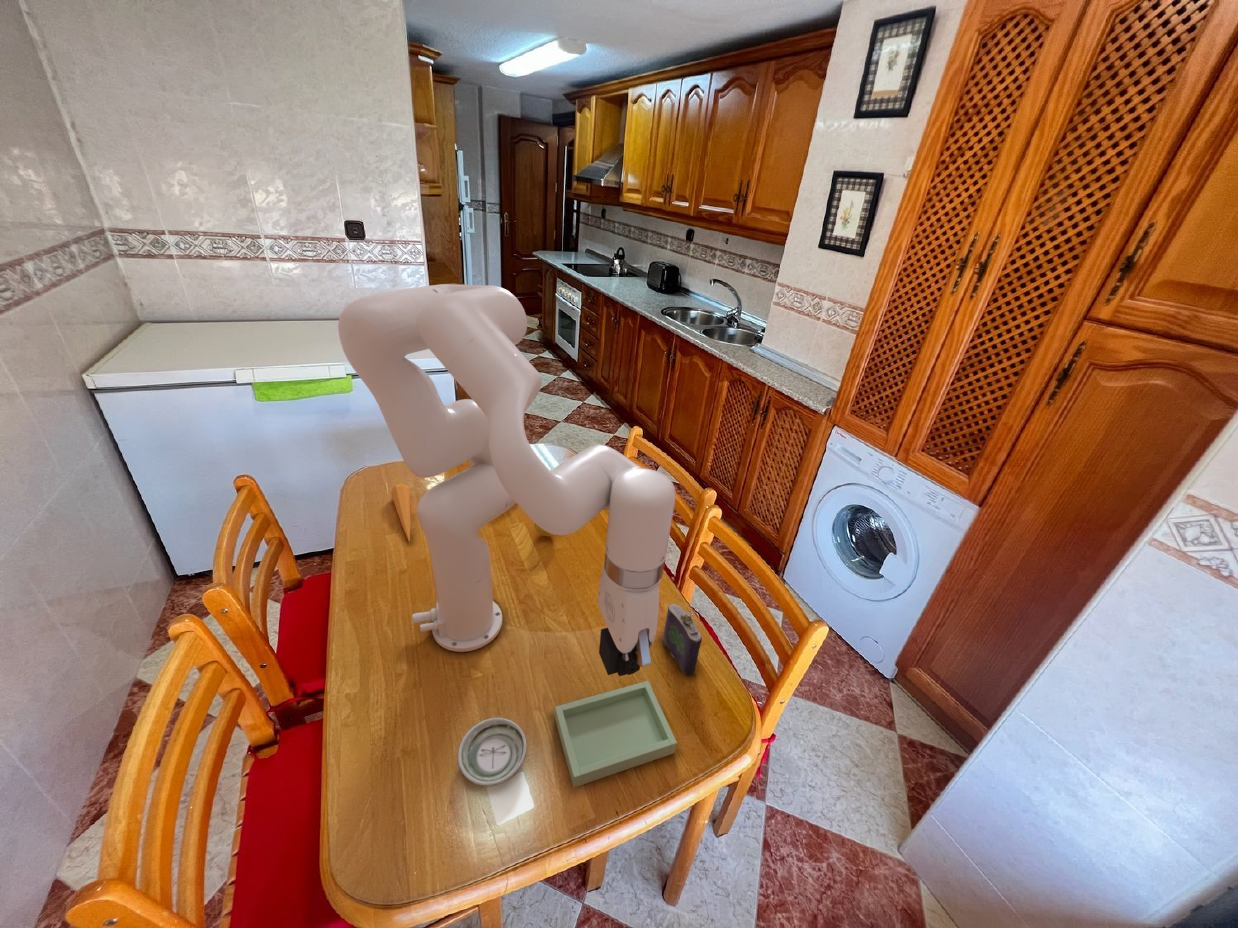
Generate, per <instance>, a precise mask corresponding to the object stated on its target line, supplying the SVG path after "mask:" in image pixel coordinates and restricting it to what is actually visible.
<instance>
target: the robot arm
mask: <svg viewBox="0 0 1238 928" xmlns="http://www.w3.org/2000/svg"><path fill="white" fill-rule="evenodd" d="M337 323H338V325H337V326H338V327H337V329H338V330H337V331H338V337H339V341H340V345H341V349H342V351H343V353H344V355H345V357H346V359H347V361H348V363H349V364H350V366H351V367H352V369H353V371H354V372H355V373H356V375H357V376H358V377H359V378H360V380H361V381H362V382H363V384H364V385H365V386H366V387H367V388H368V391H370V393H371V395H372V396H373V398H374V399H375V401H376V403H377V405H378V407H379V410H380V413H381V415H382V417H383V419H384V421H385V423H386V425H387V428H388V431H389V432H390V434H391V436H392V438H393V441H394V443H395V445H396V447H397V449H398V452H399V454H400V456H401V457H402V460H403V462H404V464H405V465H406V467H407V468H408V470H409V471H410V472H411V473H412V474H413V475H414V476H416V477H419V478H423V479H428V478H433V477H436V476H439V475H442V474H443V473H445V472H446V473H447V472H448V471H450V470H452V469H454V468H456V467H458V466H460V465H462V464H464V463H465V462H469V464H470V467H468V468H466V469H464V470H462V471H461V472H457V473H456V474H454V475H452V476H450V477H448V478H446V479H444V480H442V481H441V482H439V483H437V484H436V485H434V486H433V487H431V488H430V489H428V490H427V491H426V492H425V493H424V494H423V495H422V496H421V497H420V499H419V501H418V503H417V507H416V513H417V517H418V518H417V519H418V521H419V524H420V526H421V529H422V531H423V533H424V536H425V540H426V542H427V546H428V551H429V556H430V561H431V566H432V574H433V581H434V582H433V583H434V586H435V587H434V588H435V594H436V595H435V597H436V603H435V606H436V607H434V608H431V609H430V610H429V611H425V612H423V611H421V612H415V613H412V624H413V626H415V625H418V624H419V628H420V629H419V631H420V633H425V632H426V633H427V632H430V631H431V633H432V636H433V639H434V640H435V642H436V643H437V644H438V645H439V646H440V647H441V648H443V649H446V650H448V651H452V652H456V653H457V652H459V653H462V652H463V653H464V652H471V651H475V650H478V649H481V648H483V647H485V646H486V645H488V644H490V643H491V642H492V641H493V640H494V639H495V638H496V637H497V636H498V635H499V633H500V631H501V629H502V626H503V613H502V610H501V607H500V606H499V605H498V604H497V603H496V602H495V601H494V598H493V596H494V595H493V585H492V584H493V582H492V567H491V553H490V552H491V551H490V547H489V545H488V542H487V541H486V540H485V538H484V537H482V536H481V535H480V534H478V533H479V532H480V531H481V529H483V528H484V527H485V526H487V525H488V524H489V523H491V522H492V521H494V520H495V519H496V518H498V517H500V516H501V515H503V514H504V513H506V512H507V511H509V510H510V509H511V508H513V507H514V506H515V505H518V506H519V508H520V509H521V510H522V512H524V513H525V515H526V516H527V517H528V518H529V519H530V520H531V521H532V522H533V524H534V523H535V524H537V525H538V526H539V527H540V528H542V529H543V530H545V531H546V532H548V533H551V534H552V535H554V536H560V537H561V536H562V537H565V536H569V535H573V534H575V533H576V532H578V531H579V530H581V529H582V528H583V527H585V526H586V525H587V524H588V523H590V522H591V521H592V520H593V519H594V518H595V517H597V516H598V515H599V514H600V513H602V512H603V511H607V510H608V519H607V529H606V541H605V542H606V543H605V551H604V562H603V565H602V570H601V575H600V580H599V588H598V596H597V604H598V608H599V610H600V613H601V615H602V618H603V621H604V623H605V625H606V628H608V630H609V632H610V634H611V636H612V638H613V641H614V643H615V645H616V647H617V648H618V650H619V651H620V652H622V654H620V655H619V662H618V670H617V673H616V674H617V675H618V677H623V676H625V675H628V676H630V675H633V674H635V673H637V672H639V671H640V669H641V668H645V667H648V666H651V665H652V658H651V651H650V649H649V646H650V647H652V646H653V644H654V642H655V640H656V636H657V630H658V622H659V613H660V612H659V611H660V583H661V582H662V580H663V575H664V570H665V564H666V559H667V553H668V546H669V540H670V535H671V528H672V522H673V518H674V517H673V516H674V511H675V506H676V496H677V493H676V487H675V484H674V483H673V481H672V480H671V479H670V478H669V477H668V476H667V475H665V474H664V473H662V472H660V471H658V470H654V469H651V468H646V467H645V468H644V467H641V466H640V465H638V464H637V463H635V462H634V461H633V460H631V459H629V458H628V457H627V456H625V455H623V454H622V453H621V452H619V451H618V450H616V449H615V448H612V447H610V446H608V445H605V444H593V445H591V446H588V447H585V448H584V449H583V450H581V451H579V452H578V453H576V454H574V455H573V456H572V457H570V458H567V459H566V460H564V461H563V462H561V463H559V464H558V465H557V466H555V467H553V468H552V469H549V468H548V467H547V466H546V465H545V463H544V462H543V461H542V460H541V458H539V456H538V455H537V453H535V451H534V449H533V448H532V446H531V444H530V442H529V440H528V438H527V434H526V430H525V414H526V411H527V410H528V409H529V407H530V406H531V405H532V403H533V402H534V401H535V400H536V398H537V397H538V395H539V392H540V391H541V388H542V376H541V374H540V373H539V371H538V370H537V369H536V367H534V366H533V364H532V363H531V362H530V361H529V360H528V358H526V356H525V355H524V354H523V353H522V352H521V351H520V349H519V348H518V347H517V346H516V345H518V344H519V343H520V342H521V341H522V340H523V339H524V337H525V336H526V333H527V329H528V318H527V314H526V311H525V308H524V307H523V305H522V303H521V302H520V301H519V299H518V297H516V296H515V295H514V294H513V293H511V292H510V291H509V290H508V289H505V288H503V287H501V286H497V285H487V284H485V285H483V284H456V283H455V284H454V283H453V284H452V283H441V284H435V285H434V284H433V285H425V286H419V287H412V288H405V289H403V288H402V289H395V290H389V291H383V292H377V293H372V294H368V295H365V296H362V297H360V298H357V299H355V300H353V301H351V302H349V303H348V304H347V305H345V306H344V308H343V309H342V311H341V312H340V314H339V317H338V322H337ZM426 350H429V351H431V353H432V354H433V355H434V357H435V358H436V359H437V360H438V361H439V362H440V363H441V365H442V366H443V367H444V368H445V370H447V372H448V373H449V374H450V375H451V377H453V379H454V380H455V381H456V383H458V384H459V385H460V387H461V388H462V389H463V391H464V392H465V393H466V394H467V395H468V396H469V397H470V398H471V399H470V398H464V399H459V400H455V401H453V402H450V403H448V404H444V403H443V401H442V399H441V397H440V395H439V392H438V390H437V389H438V388H437V387H436V385H435V383H434V381H433V379H432V378H431V377H430V375H429V374H428V373H426V371H425V370H423V368H421V367H420V366H418V365H417V364H415V363H414V362H413V361H411V360H409V358H406V356H407V355H410V354H414V353H417V352H423V351H426ZM426 622H428V623H426ZM636 644H637V648H634V646H635V645H636Z"/></svg>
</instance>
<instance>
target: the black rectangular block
mask: <svg viewBox="0 0 1238 928" xmlns="http://www.w3.org/2000/svg"><path fill="white" fill-rule="evenodd" d="M598 647H599V648H598V654H599V656H600V659H601V661H602V664H603V667H604V669H605V672H606V674H607V676H611V675H615V674H618V673H617V670H618V662H619V655H620V654H622V652H620V651H619V650H618V648H617V647H616V645H615V643H614V641H613V638H612V636H611V634H610V632H609V630H608V627H605V628H600V637H599V646H598ZM634 648H637V644H636V645H635V646H634ZM650 648H651V646H649V650H650Z"/></svg>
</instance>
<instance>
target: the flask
mask: <svg viewBox="0 0 1238 928" xmlns="http://www.w3.org/2000/svg"><path fill="white" fill-rule="evenodd" d="M666 613H667V614H666V619H665V622H664V623H665V624H664V628H663V633H662V638H661V640H662V644H663V646H664V647H665V648H667V650H668V652H669V654H670V656H671V657H672V659H673V658H674V659H675V663H676V664H678V665H679V668H680V670H681V672H682V673H683V674H684V675H686V676H688V677H690V676H693V675H694V674H695V673H696V667H697V663H698V657H699V653H700V649H701V646H702V645H701V644H702V642H703V636H702V634H701V632H700V630H699V628H698V626H697V624H696V623H695V622H694V620H693V618H692V617H694V613H693V612H691V611H690V610H689V611H688V612H686V611H685V610H684V608H682V607H681V606H679V604H676V603H671V604H669V605H668V607H667V612H666Z"/></svg>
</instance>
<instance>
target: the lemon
mask: <svg viewBox="0 0 1238 928" xmlns="http://www.w3.org/2000/svg"><path fill="white" fill-rule="evenodd" d="M533 526H534V529H535V532H537V533H538V534H539V535H541V536H542V537H549V536H552V535H553V534H551V533H548V532H546V531H545V530H543V529H542V528H540V527H539V526H538V525H537V524H535V523H534V522H533Z"/></svg>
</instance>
